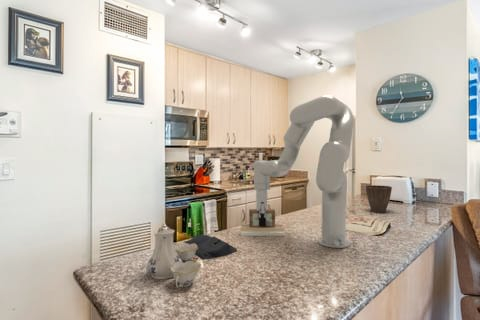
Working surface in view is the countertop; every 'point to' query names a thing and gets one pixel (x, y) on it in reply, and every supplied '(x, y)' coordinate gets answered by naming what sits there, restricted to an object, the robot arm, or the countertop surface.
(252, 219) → the brown rectangular panel
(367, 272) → the countertop surface
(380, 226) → the grape print plaque
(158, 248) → the chinaware
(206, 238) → the dark folded cloth
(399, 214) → the countertop surface
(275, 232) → the ledge board
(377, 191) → the plant pot
